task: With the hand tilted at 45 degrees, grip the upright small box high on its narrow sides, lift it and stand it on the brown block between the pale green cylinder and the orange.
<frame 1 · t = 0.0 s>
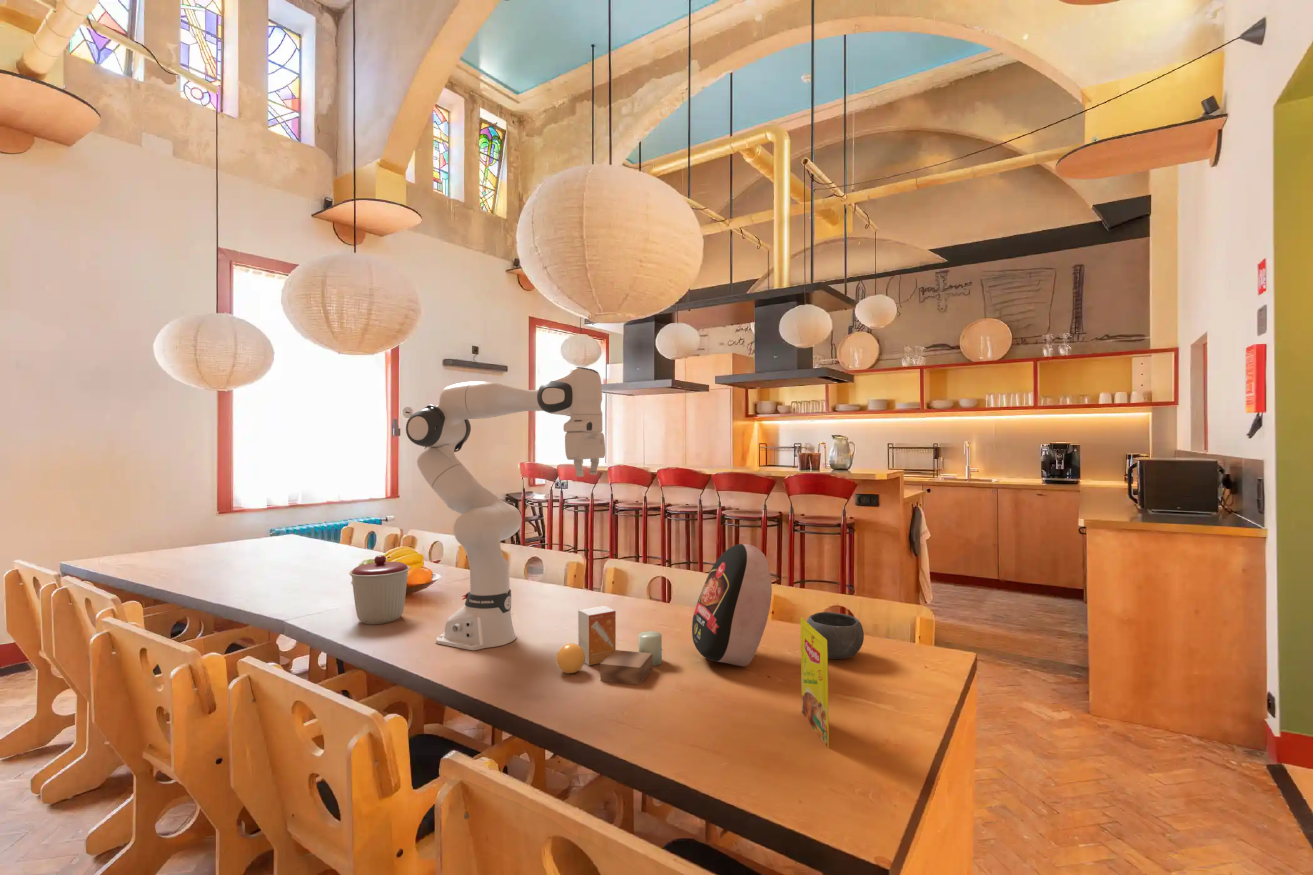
hand: (587, 475, 168), 48 cm above the table, tool pointing down, fingers open, 8 cm apart
food package: (814, 729, 120), on the table
orange: (570, 658, 151), point 3 cm above the table
pale green cylinder: (650, 661, 157), on the table
brown block: (626, 674, 149), on the table
canister: (380, 620, 197), on the table
small box: (597, 660, 159), on the table
packaged food: (731, 659, 159), on the table
bowl: (834, 656, 160), on the table
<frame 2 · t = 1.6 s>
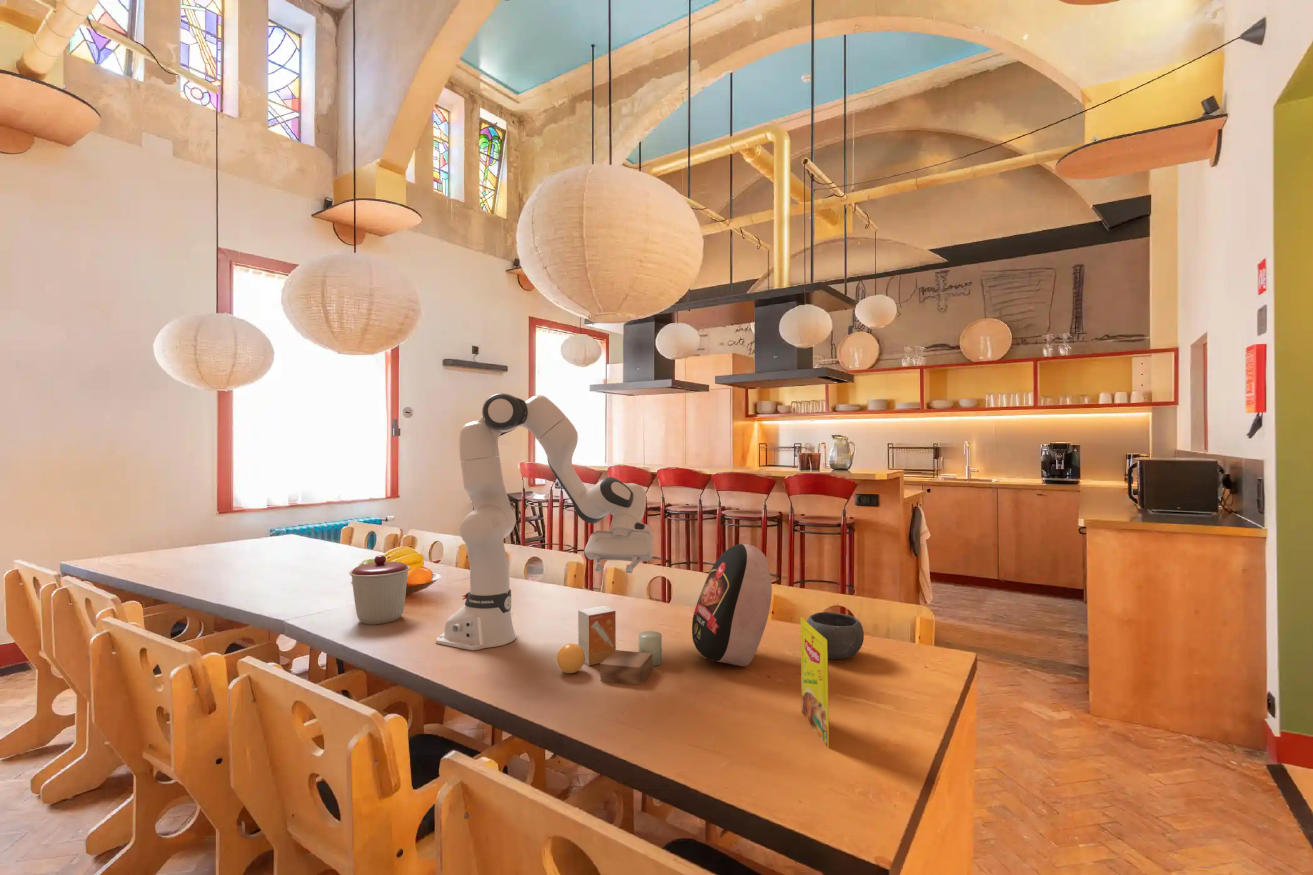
hand: (613, 571, 171), 21 cm above the table, tool tilted 45°, fingers open, 8 cm apart
nothing on the table moved.
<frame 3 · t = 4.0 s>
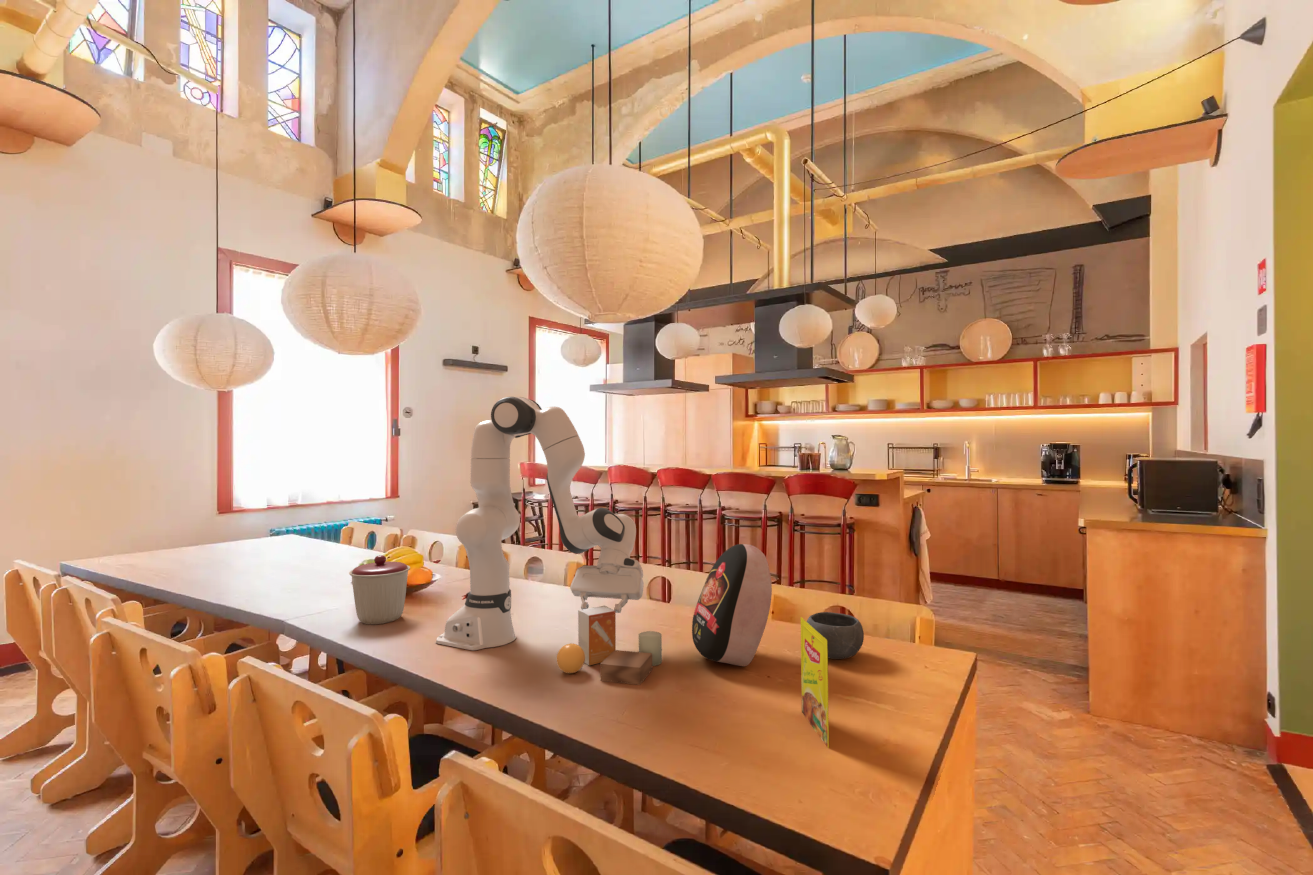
hand: (600, 610, 162), 12 cm above the table, tool tilted 45°, fingers open, 8 cm apart
small box: (597, 660, 159), on the table, touching gripper
everything else where it was.
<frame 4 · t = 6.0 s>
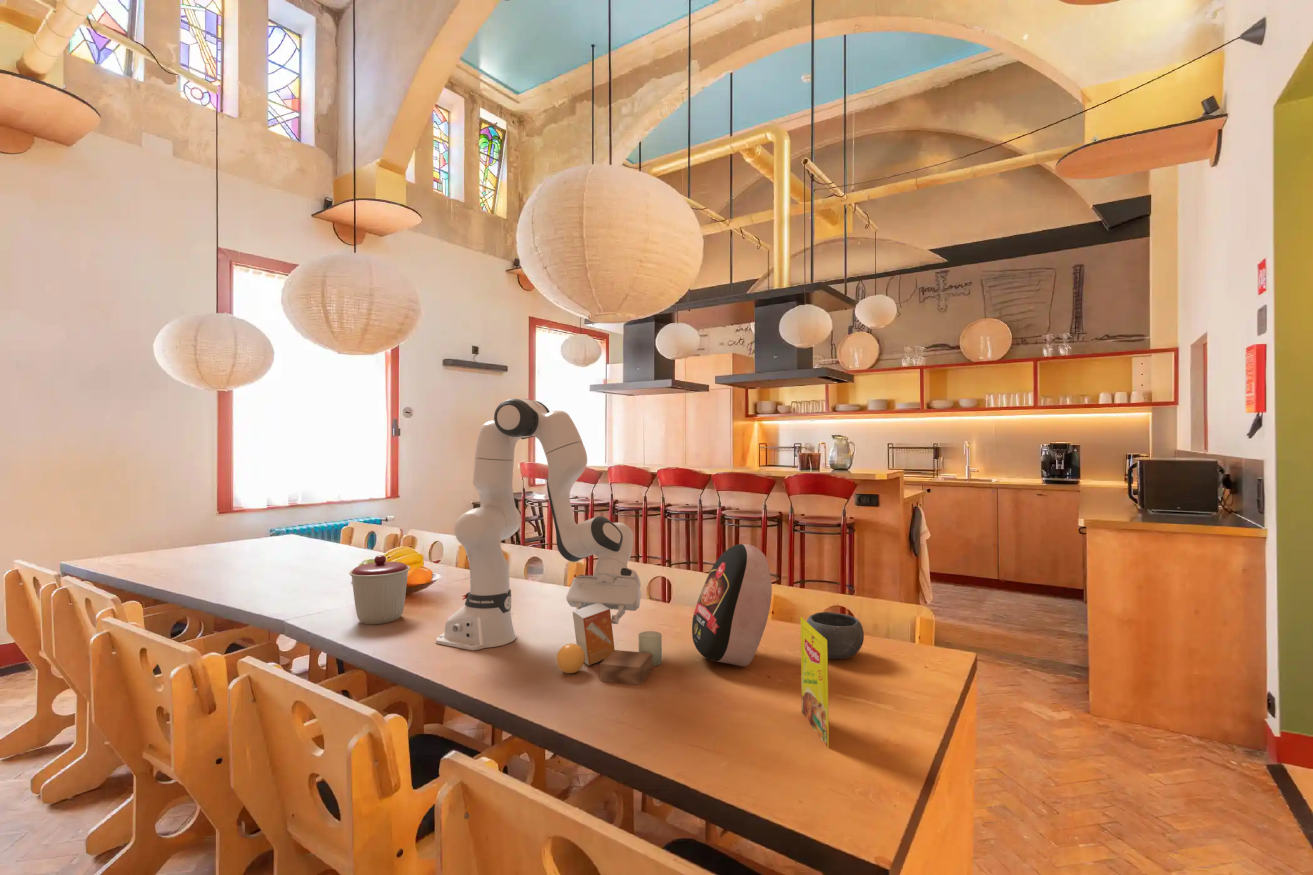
hand: (596, 621, 159), 10 cm above the table, tool tilted 45°, fingers closed on small box, 8 cm apart
small box: (597, 657, 159), point 1 cm above the table, touching gripper
everything else where it was.
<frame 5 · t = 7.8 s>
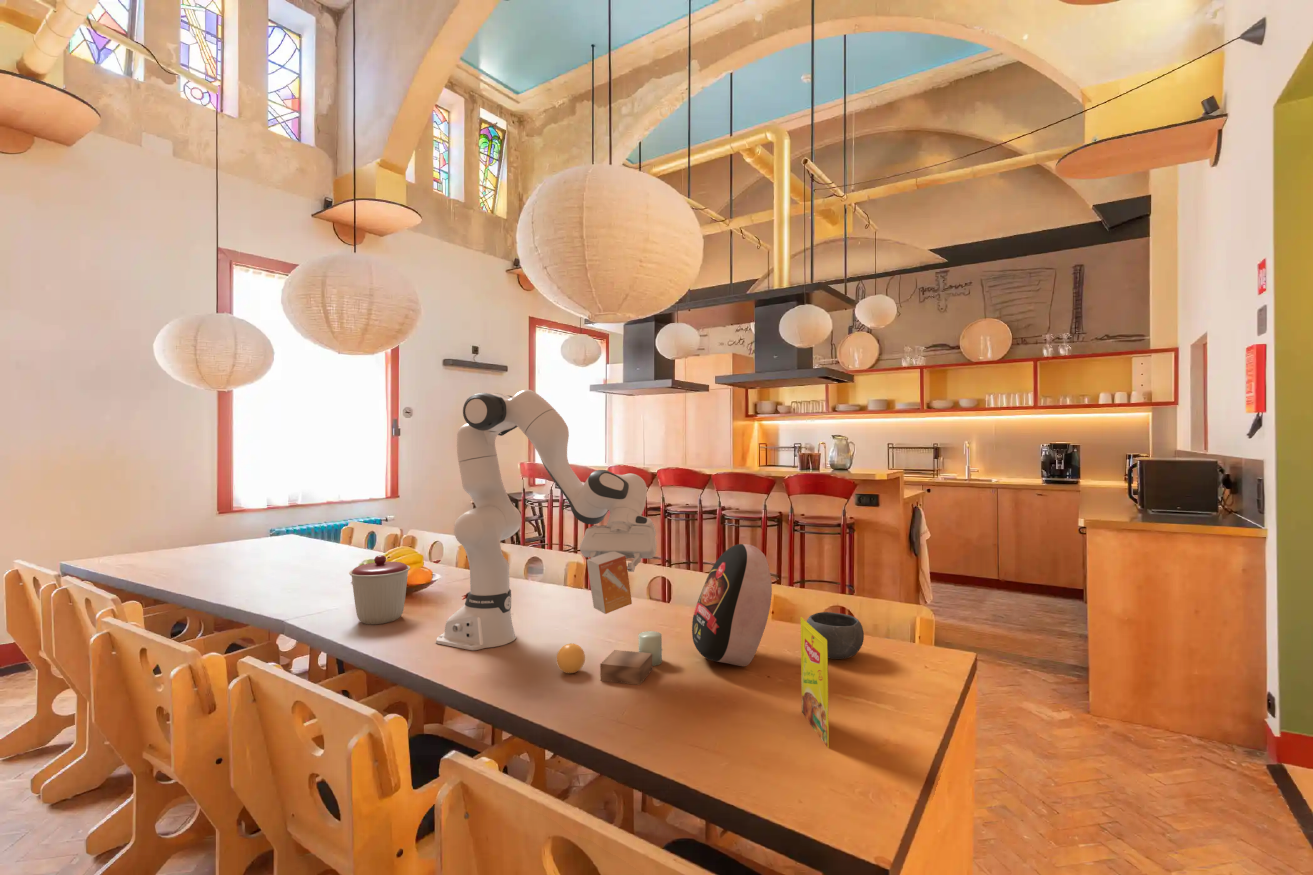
hand: (612, 569, 154), 25 cm above the table, tool tilted 45°, fingers closed on small box, 8 cm apart
small box: (613, 606, 154), point 15 cm above the table, touching gripper
everything else where it was.
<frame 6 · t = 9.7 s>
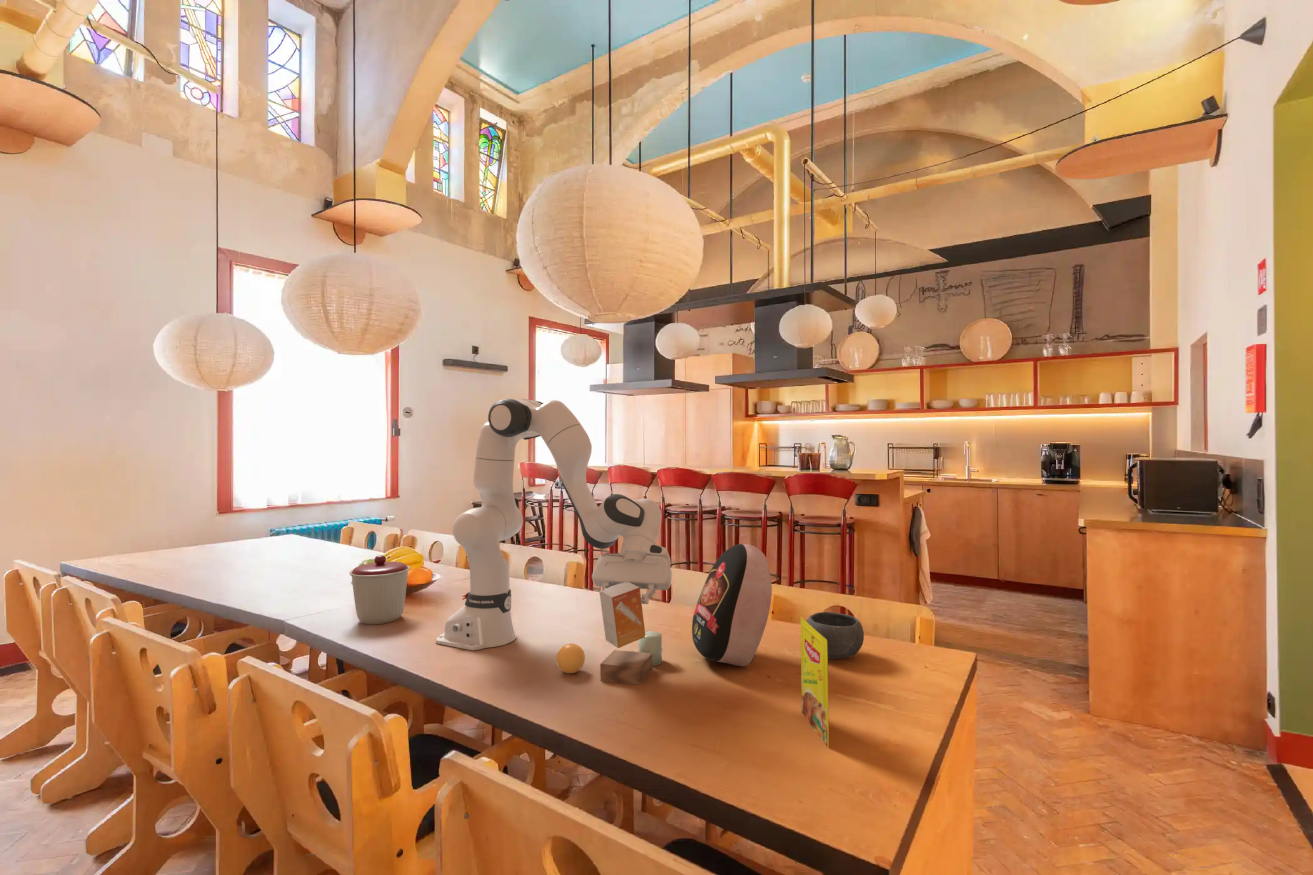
hand: (625, 601, 148), 18 cm above the table, tool tilted 45°, fingers closed on small box, 8 cm apart
small box: (626, 639, 149), point 9 cm above the table, touching gripper
everything else where it was.
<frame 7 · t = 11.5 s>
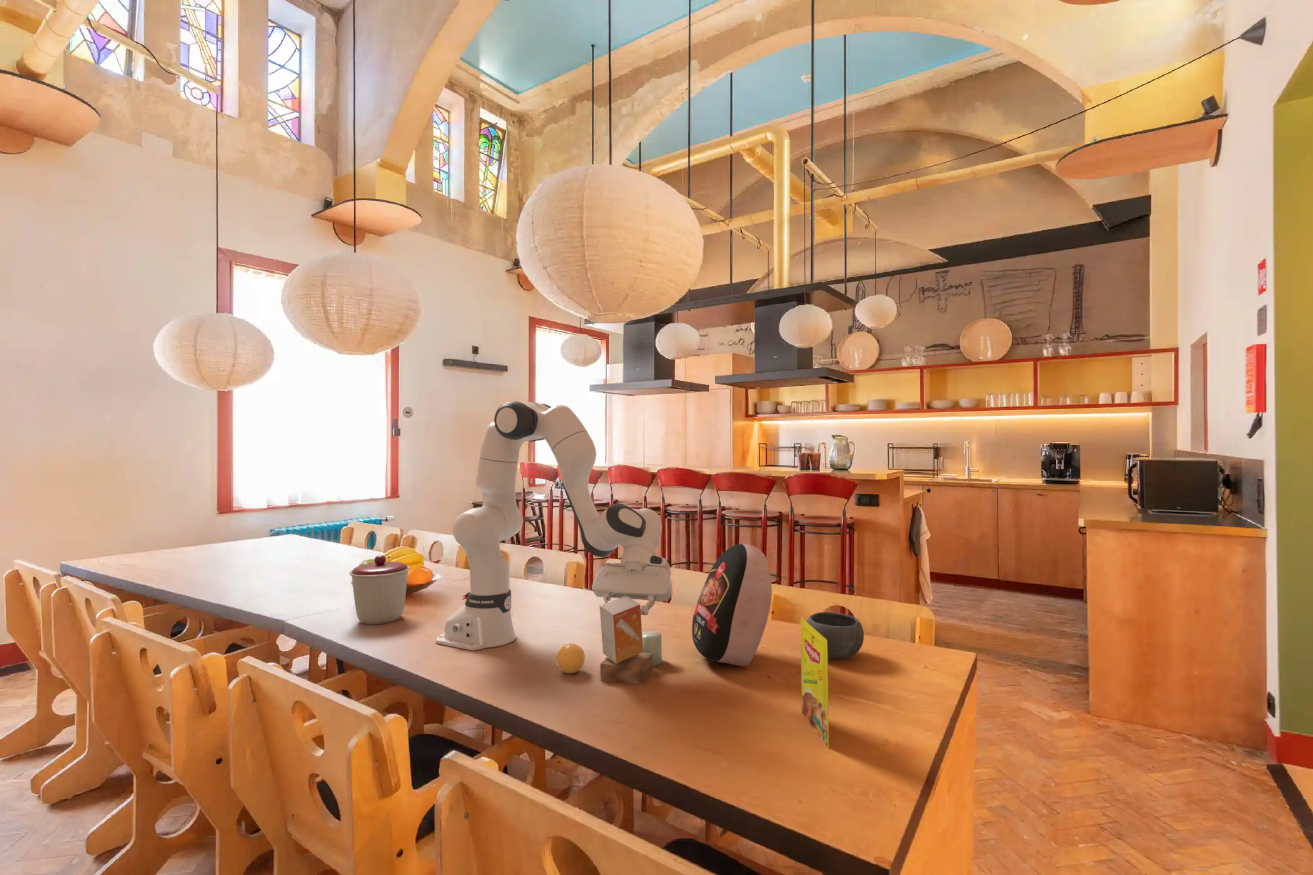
hand: (625, 612, 148), 15 cm above the table, tool tilted 45°, fingers closed on small box, 8 cm apart
small box: (623, 653, 149), point 5 cm above the table, touching gripper, brown block
everything else where it was.
when the fingers open (15 cm above the table, at t = 11.5 s): small box drops 1 cm, resting on brown block.
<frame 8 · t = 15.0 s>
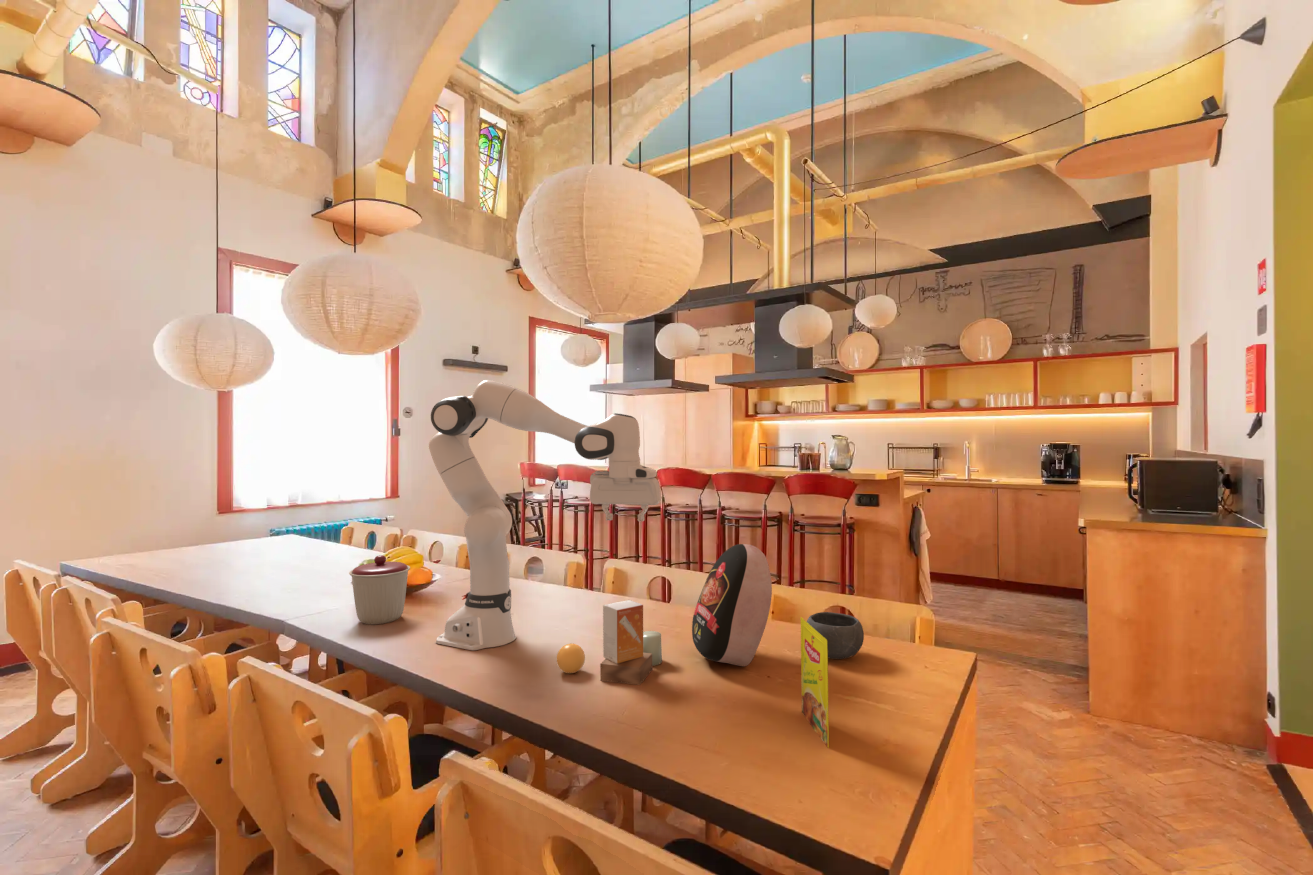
hand: (625, 520, 170), 35 cm above the table, tool pointing down, fingers open, 8 cm apart
small box: (623, 658, 149), point 4 cm above the table, touching brown block
everything else where it was.
at the end: small box inside the target area on the brown block (1.2 cm from its centre), point 3.8 cm above the brown block's base; small box tilted 0°; the gripper is holding nothing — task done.
